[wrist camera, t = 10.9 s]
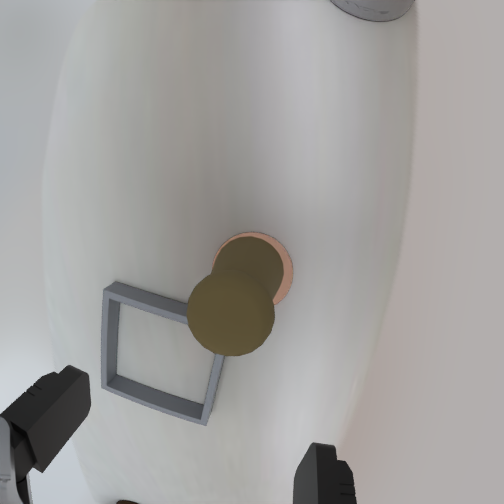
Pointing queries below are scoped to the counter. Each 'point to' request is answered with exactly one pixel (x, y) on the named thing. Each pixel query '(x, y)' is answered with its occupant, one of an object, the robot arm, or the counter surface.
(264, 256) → the cork
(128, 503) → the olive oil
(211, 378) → the bin frame
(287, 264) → the salmon pink disc
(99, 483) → the counter surface
